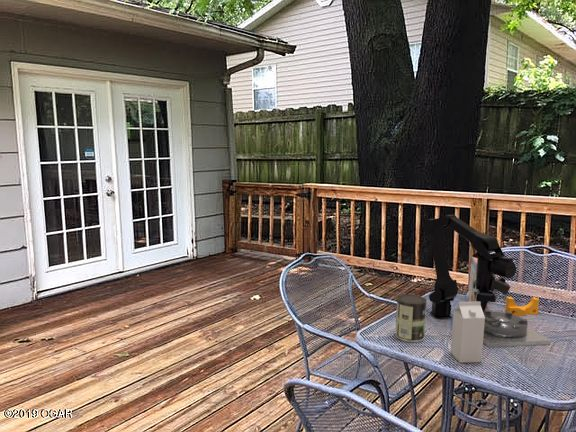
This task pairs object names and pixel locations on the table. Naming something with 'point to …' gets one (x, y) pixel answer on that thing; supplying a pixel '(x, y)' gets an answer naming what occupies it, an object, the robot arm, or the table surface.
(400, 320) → the coffee can
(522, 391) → the table surface
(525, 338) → the base plate
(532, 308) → the pipe clamp
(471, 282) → the cracker box
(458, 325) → the milk carton
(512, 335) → the crank wheel
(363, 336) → the table surface
